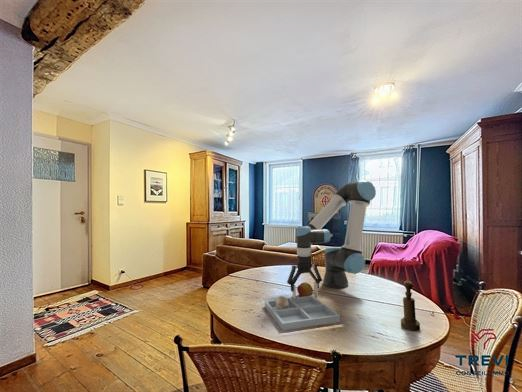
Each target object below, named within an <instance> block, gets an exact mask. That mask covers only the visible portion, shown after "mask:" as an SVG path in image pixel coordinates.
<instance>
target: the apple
mask: <svg viewBox="0 0 522 392" xmlns="http://www.w3.org/2000/svg"><path fill="white" fill-rule="evenodd" d="M296 288H297V289H296V290H297V293H298V295H299V297H305V296H313V294H314V288H313V287H312V286H311V284H310V283H308V282H302V283H300V284H299V285H297V287H296Z"/></svg>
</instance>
